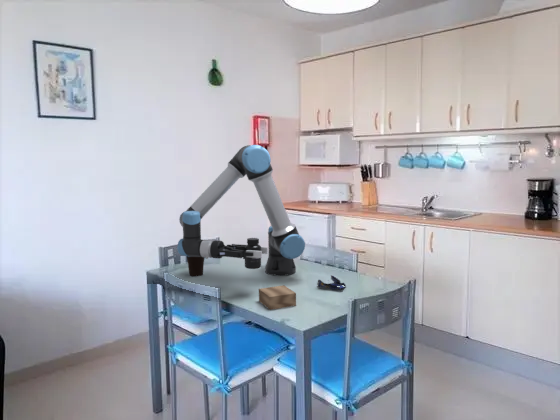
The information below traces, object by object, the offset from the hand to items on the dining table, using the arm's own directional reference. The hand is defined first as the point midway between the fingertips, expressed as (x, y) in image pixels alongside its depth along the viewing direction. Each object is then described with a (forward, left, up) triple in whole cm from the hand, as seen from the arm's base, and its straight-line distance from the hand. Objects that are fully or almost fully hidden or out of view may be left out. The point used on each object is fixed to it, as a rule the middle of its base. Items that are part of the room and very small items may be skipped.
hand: (264, 252), depth 185 cm
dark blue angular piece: (-30, +4, -18) cm, 36 cm away
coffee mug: (+17, -43, -18) cm, 50 cm away
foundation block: (-1, +12, -18) cm, 21 cm away
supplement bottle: (+4, -3, -7) cm, 8 cm away
